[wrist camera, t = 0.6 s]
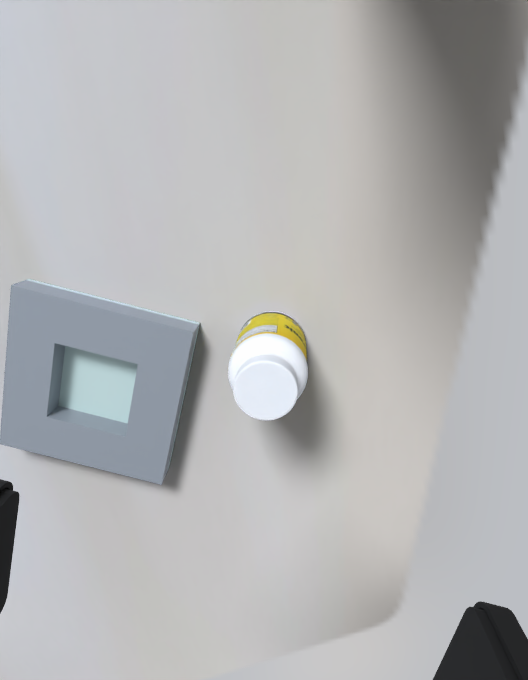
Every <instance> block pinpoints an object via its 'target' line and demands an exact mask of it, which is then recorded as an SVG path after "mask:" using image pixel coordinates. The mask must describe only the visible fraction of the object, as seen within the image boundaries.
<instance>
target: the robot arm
mask: <svg viewBox="0 0 528 680" xmlns="http://www.w3.org/2000/svg"><path fill="white" fill-rule="evenodd" d="M18 505H19V493H18V492H16V491H13V485H12V483H11V482H8V481H4V480H0V613H1V611H2V609H3V607H4V604H5V602H6V599H7V594H8V586H9V578H10V569H11V561H12V553H13V545H14V537H15V529H16V521H17V513H18ZM433 680H528V639H527V637H526V635H525V634H524V632H523V630H522V628H521V626H520V625H519V623H518V621H517V619H516V617H515V615H514V614H513V613H512V611H511V610H509V609H508V608H505V607H501V606H497V605H493V604H489V603H485V602H478V603H476V604H475V606H474V607H469V608H467V609H466V611H465V613H464V615H463V617H462V619H461V621H460V623H459V626H458V627H457V630H456V632H455V634H454V636H453V638H452V640H451V642H450V644H449V647H448V649H447V651H446V653H445V655H444V657H443V660H442V661H441V664H440V666H439V668H438V670H437V672H436V674H435V677H434V678H433Z"/></svg>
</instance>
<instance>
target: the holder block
mask: <svg viewBox="0 0 528 680" xmlns="http://www.w3.org/2000/svg"><path fill="white" fill-rule="evenodd" d="M199 325H200V323H199V322H195V321H191V320H187V319H183V318H179V317H175V316H172V315H168V314H164V313H160V312H156V311H152V310H148V309H144V308H141V307H137V306H133V305H129V304H125V303H121V302H117V301H113V300H109V299H106V298H102V297H98V296H94V295H90V294H86V293H82V292H78V291H74V290H71V289H67V288H63V287H59V286H55V285H51V284H47V283H43V282H40V281H36V280H32V279H27V280H24V281H22V282H19V283H16V284H13V285H11V295H10V308H9V322H8V336H7V350H6V364H5V378H4V392H3V405H2V419H1V433H0V444H2V445H6V446H10V447H14V448H18V449H21V450H25V451H29V452H33V453H37V454H41V455H45V456H49V457H53V458H57V459H61V460H65V461H69V462H73V463H77V464H81V465H85V466H89V467H93V468H97V469H101V470H105V471H109V472H113V473H117V474H121V475H125V476H129V477H133V478H137V479H140V480H144V481H148V482H152V483H156V484H160V485H162V483H163V480H164V478H165V476H166V474H167V472H168V469H169V466H170V461H171V457H172V452H173V447H174V443H175V438H176V433H177V428H178V424H179V419H180V414H181V410H182V405H183V400H184V396H185V391H186V386H187V381H188V377H189V372H190V367H191V363H192V358H193V353H194V348H195V344H196V339H197V334H198V330H199Z"/></svg>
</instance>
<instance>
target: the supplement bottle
mask: <svg viewBox="0 0 528 680" xmlns="http://www.w3.org/2000/svg"><path fill="white" fill-rule="evenodd" d="M228 379H229V383H230V386H231V388H232V390H233V393H234V398H235V401H236V403H237V405H238V406H239V407H240V409H241V410H242V411H243V412H244V413H246V414H247V415H249V416H250V417H252V418H255V419H258V420H275V419H278V418H281V417H283V416H284V415H286V414H287V413H288V412H289V411H290V410H291V409H292V408H293V407H294V405H295V403H296V401H297V399H298V398H299V397H300V395H301V394H302V393H303V391H304V389H305V386H306V384H307V379H308V362H307V350H306V339H305V335H304V332H303V330H302V328H301V326H300V325H299V323H298V322H297V321H296V320H295V319H293V318H292V317H291V316H289V315H287V314H285V313H282V312H278V311H265V312H262V313H259V314H256V315H255V316H253V317H251V318H250V319H249V320H248V321H247V322H246V323H245V324H244V326H243V327H242V329H241V331H240V334H239V336H238V339H237V342H236V345H235V347H234V350H233V353H232V355H231V358H230V361H229V366H228Z"/></svg>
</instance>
